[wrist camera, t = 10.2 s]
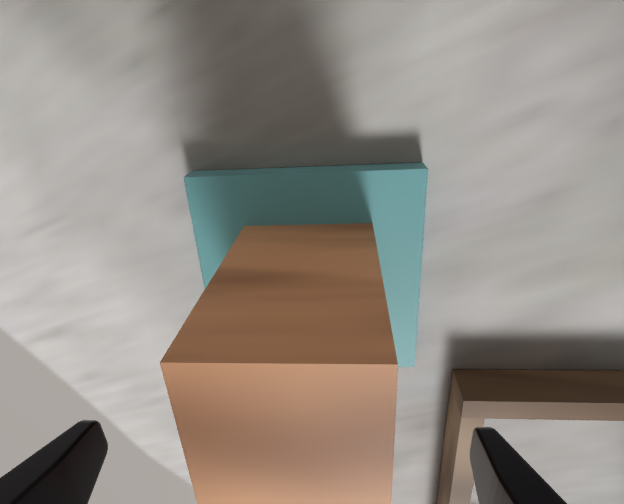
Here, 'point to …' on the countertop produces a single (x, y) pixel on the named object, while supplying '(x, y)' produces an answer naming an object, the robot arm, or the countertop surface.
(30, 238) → the countertop surface
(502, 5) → the countertop surface
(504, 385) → the pocket frame
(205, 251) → the plate
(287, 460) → the block
